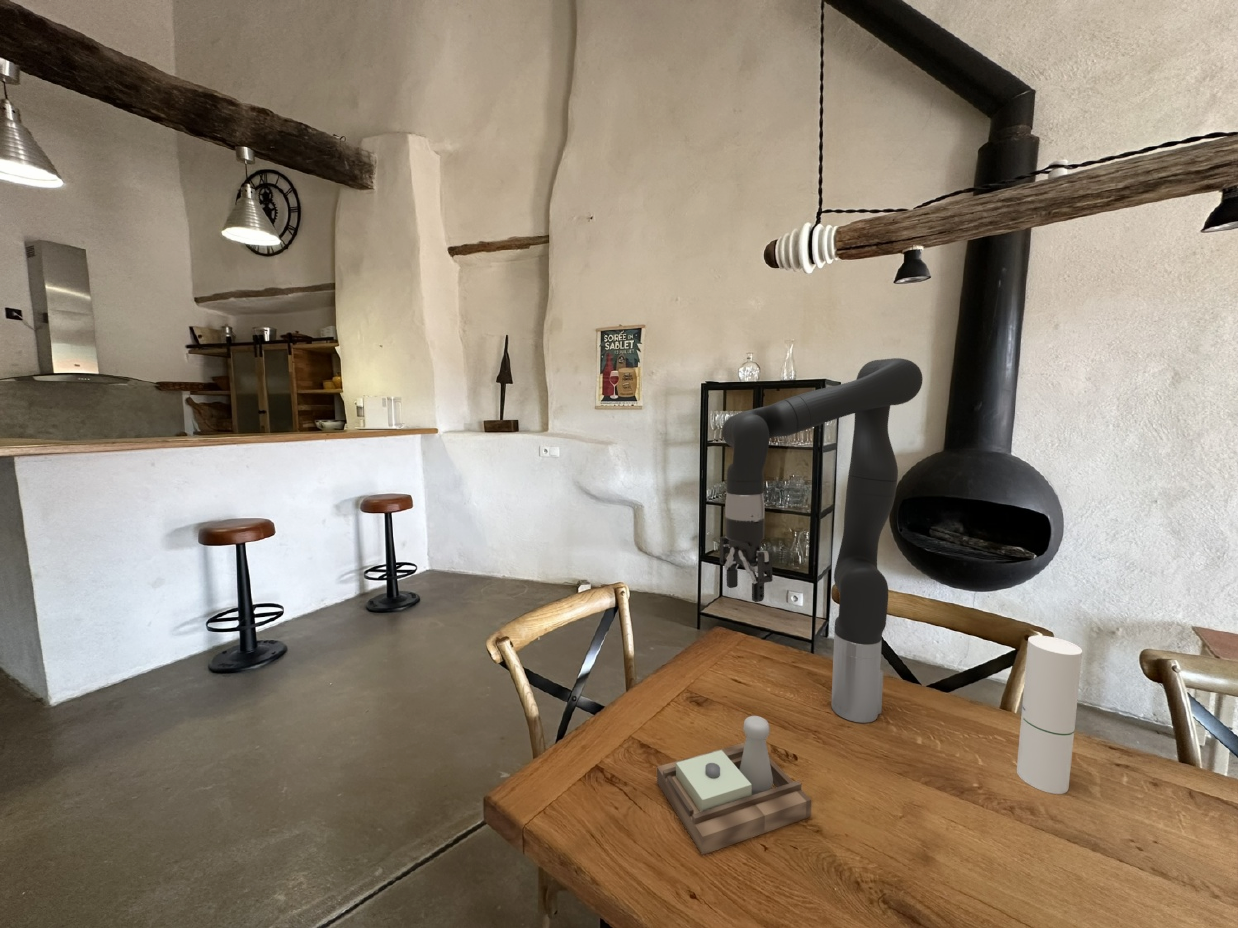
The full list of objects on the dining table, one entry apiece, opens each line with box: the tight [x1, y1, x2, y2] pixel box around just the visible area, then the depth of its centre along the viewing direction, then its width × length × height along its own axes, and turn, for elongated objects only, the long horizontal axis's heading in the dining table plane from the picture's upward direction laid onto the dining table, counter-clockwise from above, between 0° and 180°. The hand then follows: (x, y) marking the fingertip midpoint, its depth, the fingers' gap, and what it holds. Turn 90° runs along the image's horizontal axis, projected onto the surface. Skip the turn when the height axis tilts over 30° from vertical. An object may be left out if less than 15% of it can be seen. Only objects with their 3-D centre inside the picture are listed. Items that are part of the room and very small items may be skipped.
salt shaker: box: [739, 715, 774, 796], centre depth 89 cm, size 6×6×13 cm
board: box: [656, 742, 812, 856], centre depth 88 cm, size 20×16×4 cm
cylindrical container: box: [1016, 635, 1083, 795], centre depth 91 cm, size 7×7×25 cm
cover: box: [676, 750, 752, 812], centre depth 86 cm, size 9×9×4 cm
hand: (744, 593), depth 105 cm, fingers open, 8 cm apart
